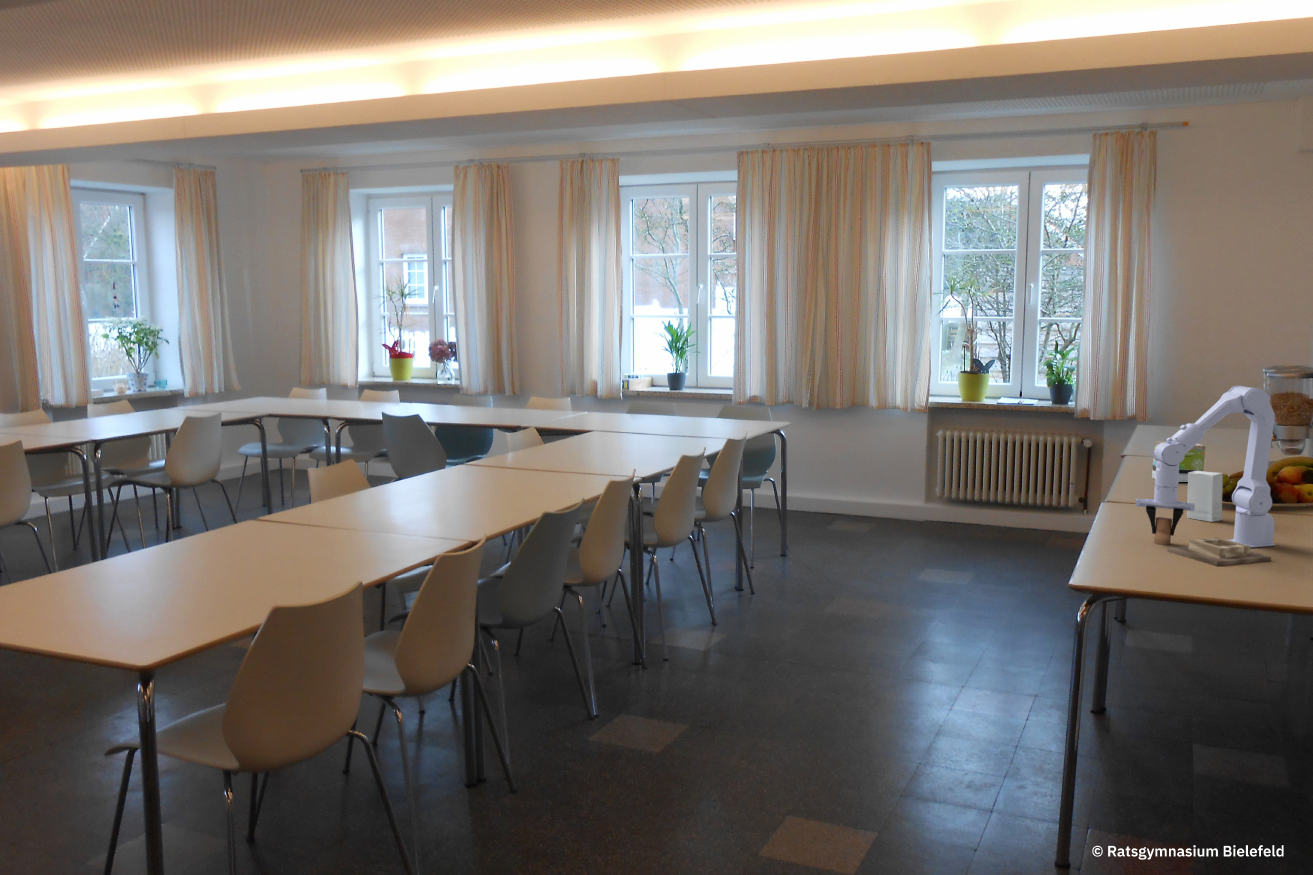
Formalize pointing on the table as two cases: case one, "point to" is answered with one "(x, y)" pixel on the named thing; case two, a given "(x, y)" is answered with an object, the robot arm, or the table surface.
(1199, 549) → the socket
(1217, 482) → the skincare box
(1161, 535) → the peg
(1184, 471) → the tea box
